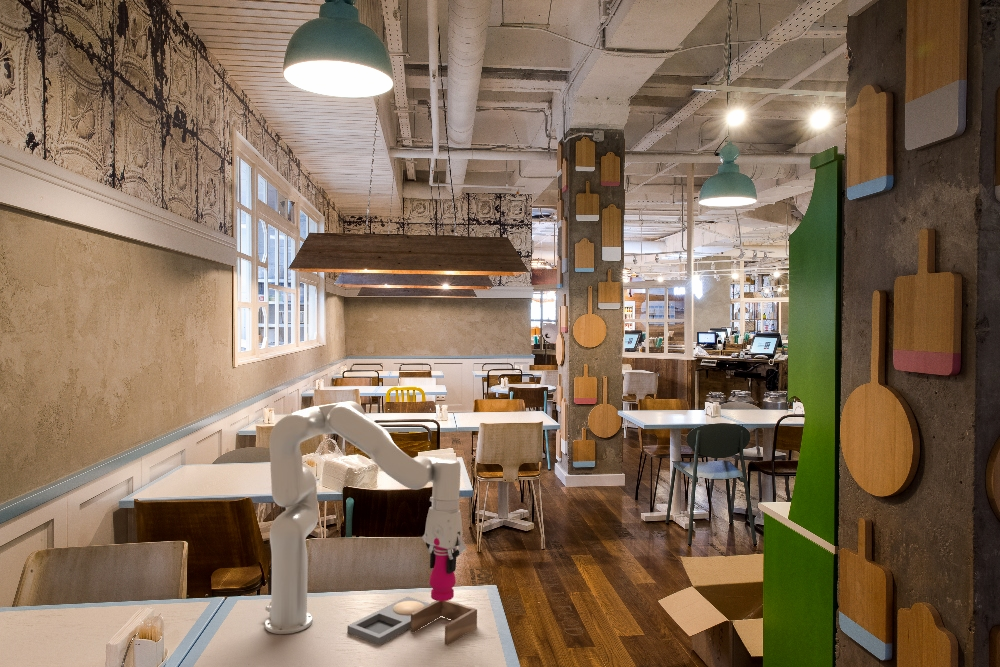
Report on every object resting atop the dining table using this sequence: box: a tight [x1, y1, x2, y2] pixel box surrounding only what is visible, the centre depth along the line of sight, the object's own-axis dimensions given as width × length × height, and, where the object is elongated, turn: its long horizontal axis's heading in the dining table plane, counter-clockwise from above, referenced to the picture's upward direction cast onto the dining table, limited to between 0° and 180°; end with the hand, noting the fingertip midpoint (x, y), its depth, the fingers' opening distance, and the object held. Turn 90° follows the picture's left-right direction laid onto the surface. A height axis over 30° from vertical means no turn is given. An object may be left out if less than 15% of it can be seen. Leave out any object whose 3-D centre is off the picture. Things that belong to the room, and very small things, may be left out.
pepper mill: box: [429, 538, 457, 601], centre depth 178 cm, size 7×7×20 cm
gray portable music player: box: [346, 596, 430, 646], centre depth 181 cm, size 12×24×2 cm, turn 146°
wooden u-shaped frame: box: [410, 600, 478, 646], centre depth 177 cm, size 13×13×5 cm
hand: (442, 568), depth 178 cm, fingers closed on pepper mill, 5 cm apart
